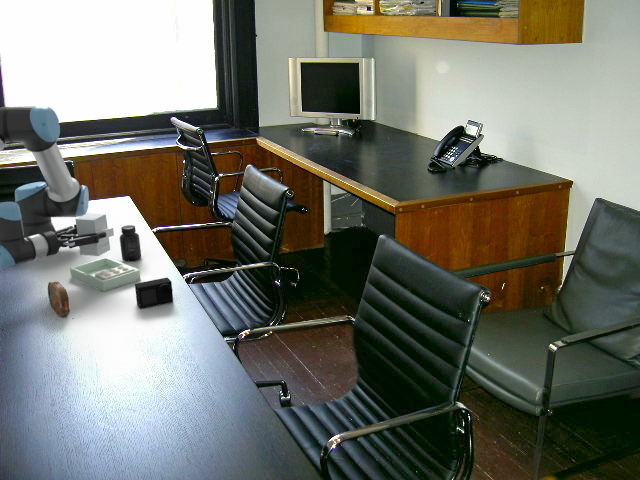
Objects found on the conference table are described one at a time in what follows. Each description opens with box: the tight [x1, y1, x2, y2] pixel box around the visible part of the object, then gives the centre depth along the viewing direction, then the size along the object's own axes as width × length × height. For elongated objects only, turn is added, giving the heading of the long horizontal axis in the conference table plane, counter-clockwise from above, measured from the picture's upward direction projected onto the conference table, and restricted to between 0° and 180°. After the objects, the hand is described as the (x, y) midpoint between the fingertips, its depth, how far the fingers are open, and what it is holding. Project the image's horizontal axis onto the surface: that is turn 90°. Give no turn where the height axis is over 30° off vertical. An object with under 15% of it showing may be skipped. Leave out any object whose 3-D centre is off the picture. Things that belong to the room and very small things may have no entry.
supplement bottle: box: [119, 224, 142, 263], centre depth 280 cm, size 7×7×12 cm
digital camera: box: [134, 277, 174, 310], centre depth 241 cm, size 10×5×7 cm, turn 118°
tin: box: [47, 281, 70, 317], centre depth 237 cm, size 15×3×8 cm, turn 33°
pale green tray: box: [69, 256, 142, 293], centre depth 263 cm, size 20×14×4 cm
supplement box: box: [75, 212, 111, 257], centre depth 262 cm, size 7×7×13 cm
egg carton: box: [95, 265, 134, 281], centre depth 259 cm, size 6×11×4 cm, turn 137°
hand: (104, 228), depth 265 cm, fingers closed on supplement box, 9 cm apart
